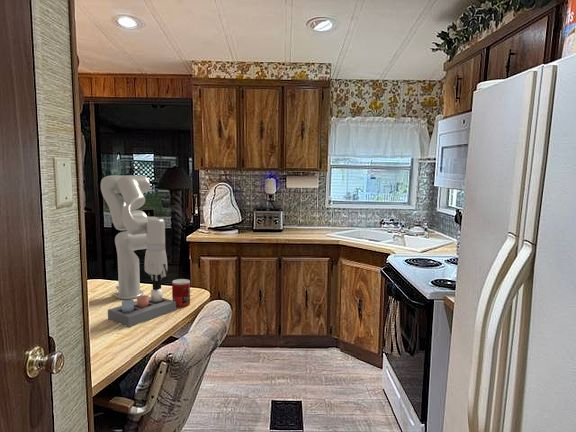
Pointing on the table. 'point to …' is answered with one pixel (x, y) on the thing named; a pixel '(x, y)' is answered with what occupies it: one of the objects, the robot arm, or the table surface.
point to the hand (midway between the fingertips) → (156, 289)
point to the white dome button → (156, 295)
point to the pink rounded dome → (142, 301)
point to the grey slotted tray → (141, 312)
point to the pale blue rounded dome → (127, 306)
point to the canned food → (181, 292)
